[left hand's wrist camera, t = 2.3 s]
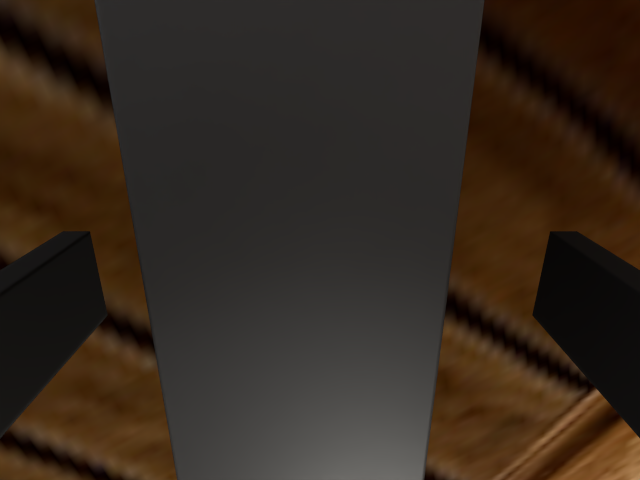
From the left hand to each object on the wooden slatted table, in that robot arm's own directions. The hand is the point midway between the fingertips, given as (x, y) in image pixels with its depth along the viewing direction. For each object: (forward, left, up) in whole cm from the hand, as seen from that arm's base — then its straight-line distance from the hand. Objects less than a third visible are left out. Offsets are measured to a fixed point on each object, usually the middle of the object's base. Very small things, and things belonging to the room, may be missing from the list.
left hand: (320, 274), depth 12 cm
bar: (-5, +8, -5) cm, 10 cm away
